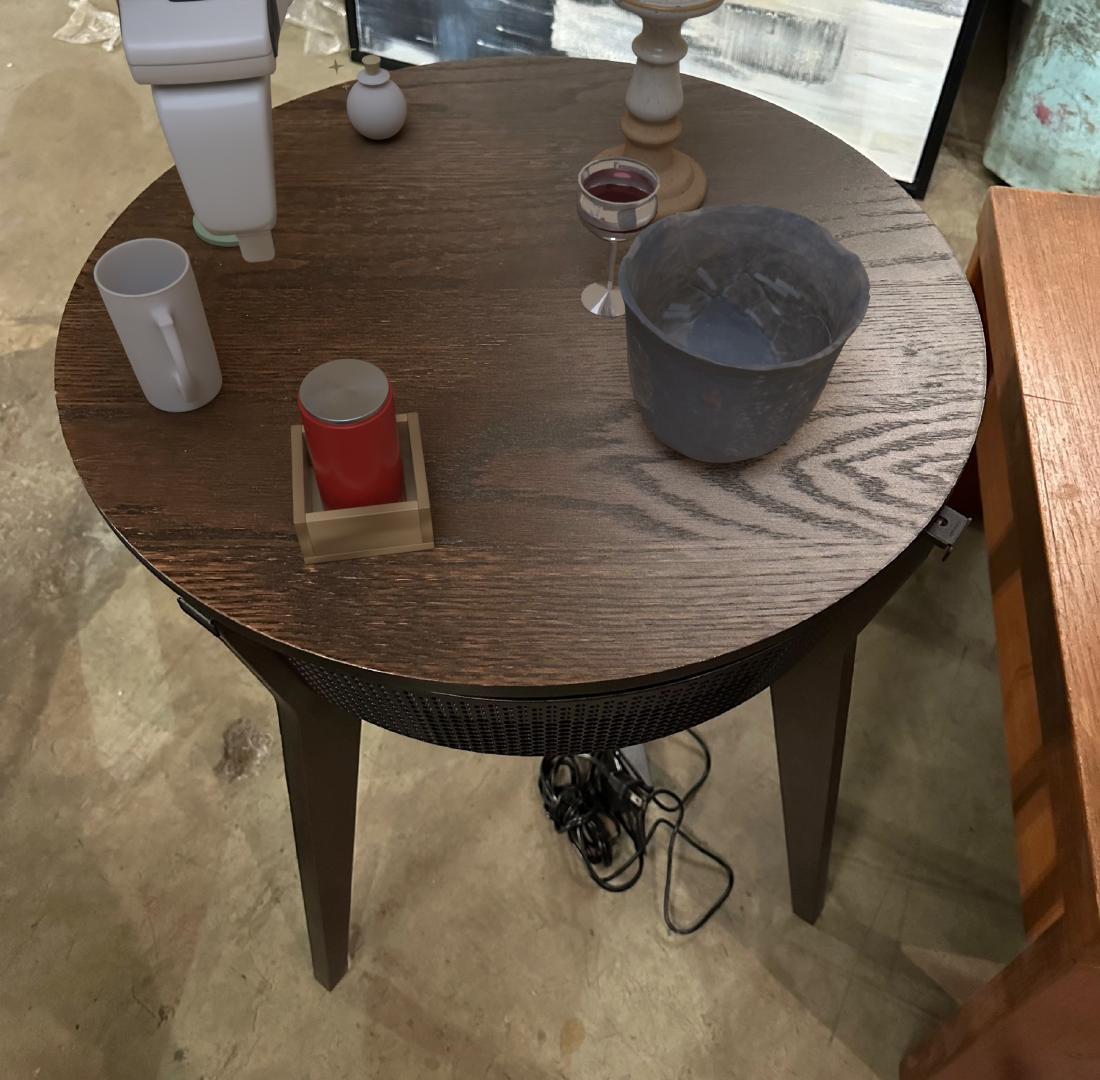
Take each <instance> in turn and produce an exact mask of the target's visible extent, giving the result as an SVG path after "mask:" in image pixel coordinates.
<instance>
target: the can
mask: <svg viewBox="0 0 1100 1080" xmlns="http://www.w3.org/2000/svg"><path fill="white" fill-rule="evenodd" d="M394 397H395V396H394V390H393V386H392V383H391V381H390V379H389V378H388V377H387V376H386V374H385V373H384V371H383V370H382V369H381V368H379V367H378V366H377V365H375V364H374V363H371V362H369V361H366V360H362V359H359V358H358V359H357V358H340V359H335V360H330V361H327V362H324V363H322V364H320V365H318V366H316V367H314V369H312V370H311V371H309V372H308V373H307V374H306V376H305V377H304V379H303V380H302V382H301V384H300V387H299V390H298V393H297V406H298V409H299V414H300V418H301V422H302V425H303V427H304V431H305V435H306V439H307V444H308V448H309V452H310V456H311V460H312V465H313V469H314V473H315V477H316V481H317V485H318V490H319V494H320V498H321V502H322V506H323V510H324V511H331V510H339V509H348V508H356V507H365V506H373V505H382V504H391V503H399V502H407V494H406V487H405V479H404V472H403V464H402V457H401V449H400V442H399V434H398V427H397V419H396V415H397V413H396V412H397V411H396V406H395V398H394Z"/></svg>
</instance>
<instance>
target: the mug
mask: <svg viewBox="0 0 1100 1080" xmlns="http://www.w3.org/2000/svg"><path fill="white" fill-rule="evenodd" d="M93 278H94V281H95V284H96V286H97V289H98V291H99V294H100V297H101V298H102V301H103V304H104V306H105V308H106V310H107V313H108V315H109V317H110V319H111V321H112V324H113V327H114V329H115V331H116V334H117V335H118V337H119V340H120V342H121V345H122V347H123V349H124V352H125V354H126V356H127V359H128V361H129V363H130V365H131V368H132V370H133V372H134V375H135V377H136V379H137V381H138V383H139V386H140V388H141V390H142V393H143V394H144V397H145V398H146V400H147V401H148V402H149V404H150V405H151V406H153V407H154V408H157V409H158V410H161V411H163V412H164V411H165V412H168V413H185V412H190V411H194V410H198V409H199V408H201V407H204V406H205V405H207V404H209V403H210V402H212V400H213V399H215V398H216V397H217V395H219V393H220V391H221V388H222V385H223V374H222V371H221V368H220V364H219V360H218V355H217V352H216V347H215V344H214V341H213V338H212V334H211V330H210V328H209V324H208V320H207V316H206V312H205V309H204V306H203V305H204V304H203V302H202V297H201V295H200V294H201V293H200V291H199V286H198V283H197V280H196V277H195V273H194V270H193V267H192V264H191V261H190V256H189V254H188V253H187V251H186V250H185V248H183V247H182V246H181V245H180V244H178V243H176V242H174V241H171V240H168V239H164V238H157V237H145V238H137V239H131V240H128V241H124V242H122V243H120V244H117V245H115V246H114V247H112V248H110V249H109V250H107V251H105V252H104V254H103V255H102V256H101V257H99V259H98V260H97V262H96V264H95V266H94V268H93Z"/></svg>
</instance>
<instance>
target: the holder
mask: <svg viewBox="0 0 1100 1080" xmlns="http://www.w3.org/2000/svg"><path fill="white" fill-rule="evenodd" d="M396 419H397V427H398V434H399V442H400V449H401V457H402V464H403V472H404V479H405V487H406V494H407V502H399V503H391V504H382V505H373V506H365V507H356V508H348V509H339V510H331V511H324V510H323V506H322V502H321V498H320V494H319V490H318V485H317V481H316V477H315V473H314V469H313V465H312V460H311V456H310V452H309V448H308V444H307V439H306V435H305V431H304V427H303V424H293V425H291V426H290V446H291V450H290V451H291V478H292V481H291V482H292V483H291V484H292V511H293V512H292V513H293V515H292V516H293V527H294V530H295V533H296V537H297V540H298V544H299V548H300V551H301V555H302V559H303V561H304V564H305V565H311V564H312V565H313V564H322V563H329V562H336V561H346V560H354V559H362V558H369V557H377V556H386V555H393V554H400V553H401V554H402V553H410V552H411V553H412V552H419V551H427V550H434V549H435V538H434V529H433V521H432V520H433V519H432V511H431V502H430V496H429V488H428V480H427V473H426V467H425V466H426V465H425V457H424V451H423V443H422V436H421V435H422V434H421V427H420V421H419V412H418V411H416V412H415V411H413V412H407V413H398V414H397V413H396Z"/></svg>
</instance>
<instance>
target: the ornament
mask: <svg viewBox="0 0 1100 1080" xmlns="http://www.w3.org/2000/svg"><path fill="white" fill-rule="evenodd" d="M356 50H357V48H351V46H350V44H348V48H347V49H345V50H344V52H348V53H349V56H350V57H352V52H353V51H356ZM361 62H362V64H363V67H364V68H363V69H361V70H360V71H358V73H357V74H356V80H357V81H356V83H354V84H353V86H352V87H351V88H350V90H349V93H348V95H347V99H346V112H347V116H348V119H349V121H350V123H351V125H352V126H353V128H354V129H355V130H356V131H357V132H358V133H359V134H361V135H362V136H364V137H366V138H368V139H371V140H385V139H386V140H387V139H389V138H392V137H393V136H395V135H396V134H397V133H398V132H399V131H400V130H401V129H402V127H404V124H405V122H406V118H407V113H408V107H407V106H408V105H407V101H406V97H405V95H404V92H403V91H402V90H401V88H400V87H399V85H398V84H397V83H395V82H394V81H393V80H391V79H390V77H391V75H390V72H389V71H388V70H386V69H384V68H382V67H380V65H381V56H379V55H375V54H368V55H365V56H363V57H362V58H361ZM344 66H345V64H338V62H337V60H336V59H334V62H333V65H330V66H328V67H327V69H334V71H335V73H336V75H339V74H338V73H339V68H341V67H342V68H343V67H344ZM349 87H350V85H347V82H345V83H344V85H343V86H342V88H345V90H346V91H348V88H349Z"/></svg>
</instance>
